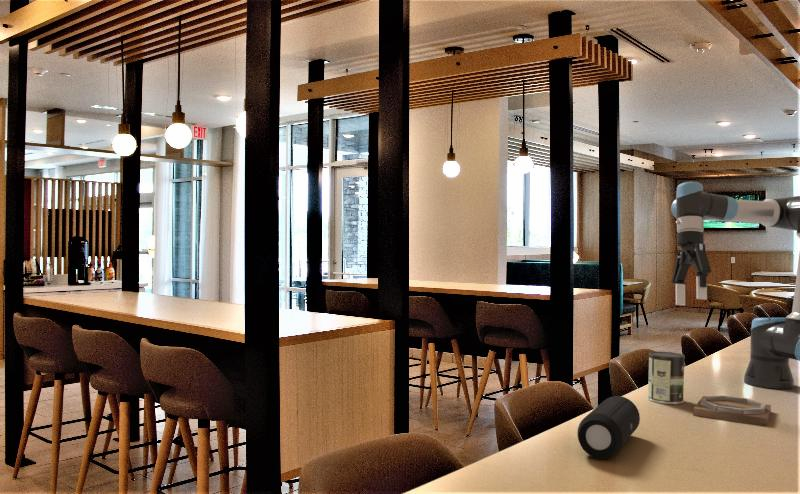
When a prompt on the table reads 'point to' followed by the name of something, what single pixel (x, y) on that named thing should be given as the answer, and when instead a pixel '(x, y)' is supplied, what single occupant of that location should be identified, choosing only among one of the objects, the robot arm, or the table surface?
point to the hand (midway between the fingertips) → (690, 302)
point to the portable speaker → (608, 427)
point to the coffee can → (666, 377)
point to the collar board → (733, 409)
